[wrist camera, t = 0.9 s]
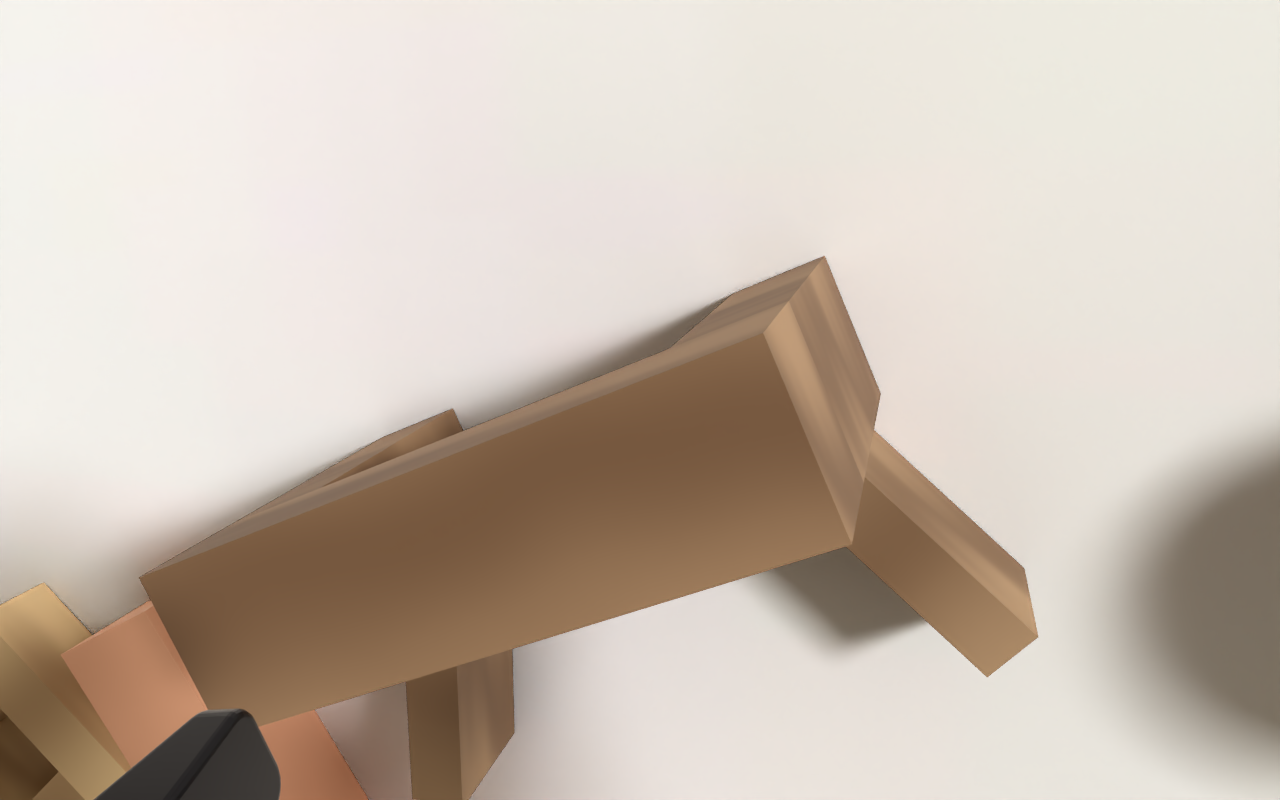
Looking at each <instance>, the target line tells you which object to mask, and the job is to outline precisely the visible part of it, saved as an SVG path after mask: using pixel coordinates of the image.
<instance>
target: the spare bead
mask: <svg viewBox="0 0 1280 800" xmlns="http://www.w3.org/2000/svg"><path fill="white" fill-rule="evenodd" d="M90 636H92V634H91V633H90V632H89V631H88V630H87V629H86V628H85V627H84V626H83V624H82V623H81V622H80V621H79V620H78V619H77V618H76V617H75V616H74V615H73V614H72V613H71V612H70V610H69V609H68V608H67V607H66V606H65V605H64V604H63V603H62V602H61V601H60V600H59V599H58V597H57V596H56V595H55V594H54V593H53V592H52V591H51V590H50V589H49V588H48V587H47V586H46V584H45V583H42V584H40V585H38V586H36V587H34V588H32V589H30V590H28V591H26V592H24V593H22V594H20V595H19V596H17V597H15V598H13V599H11V600H9V601H7V602H5V603H3V604H1V605H0V800H93V799H95V798H96V797H97V796H98V795H99V794H101V793H102V792H103V791H104V790H105V789H107V788H108V787H109V786H110V785H111V784H113V783H114V782H115V781H116V780H117V779H119V778H120V777H121V776H122V775H124V774H125V773H126V772H127V771H128V770H130V769H131V766H130V764H129V763H128V761H127V760H126V758H125V757H124V755H123V753H122V752H121V750H120V749H119V747H118V745H117V744H116V742H115V741H114V739H113V737H112V736H111V734H110V733H109V731H108V729H107V728H106V726H105V725H104V723H103V722H102V720H101V718H100V717H99V715H98V714H97V712H96V710H95V709H94V707H93V706H92V704H91V702H90V701H89V699H88V698H87V696H86V695H85V693H84V691H83V690H82V688H81V687H80V685H79V683H78V682H77V680H76V679H75V677H74V675H73V674H72V672H71V671H70V669H69V667H68V666H67V664H66V663H65V661H64V660H63V658H62V656H61V654H63V653H64V652H66V651H67V650H69V649H71V648H72V647H74V646H76V645H77V644H79V643H80V642H82V641H84V640H85V639H87V638H89V637H90Z"/></svg>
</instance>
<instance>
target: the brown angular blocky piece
mask: <svg viewBox="0 0 1280 800" xmlns="http://www.w3.org/2000/svg"><path fill="white" fill-rule="evenodd" d="M880 395H881V393H880V391H879V388H878V386H877V383H876V381H875V378H874V376H873V374H872V371H871V369H870V366H869V364H868V361H867V359H866V356H865V354H864V351H863V349H862V346H861V344H860V342H859V339H858V337H857V334H856V332H855V329H854V327H853V324H852V322H851V319H850V317H849V315H848V312H847V310H846V307H845V305H844V302H843V300H842V297H841V295H840V292H839V290H838V287H837V285H836V283H835V280H834V278H833V275H832V273H831V270H830V268H829V265H828V263H827V260H826V258H825V256H823V257H821V258H818V259H816V260H814V261H811V262H809V263H806V264H804V265H801V266H799V267H797V268H794V269H792V270H789V271H787V272H784V273H782V274H779V275H777V276H775V277H772V278H770V279H767V280H765V281H762V282H760V283H758V284H755V285H753V286H750V287H748V288H745V289H743V290H740V291H738V292H736V293H733V294H732V295H731V296H729V297H728V298H727V299H726V300H725V301H724V302H723V303H721V304H720V305H719V306H718V307H717V308H716V309H714V310H713V311H712V312H711V313H710V314H709V315H707V316H706V317H705V318H704V319H703V320H702V321H701V322H699V323H698V324H697V325H696V326H695V327H694V328H692V329H691V330H690V331H689V332H688V333H687V334H686V335H684V336H683V337H682V338H681V339H680V340H679V341H677V342H676V343H675V344H674V345H673V346H672V347H670V348H669V349H667V350H665V351H662V352H660V353H657V354H655V355H652V356H650V357H647V358H645V359H642V360H640V361H637V362H635V363H632V364H630V365H627V366H625V367H622V368H620V369H617V370H615V371H612V372H610V373H607V374H605V375H602V376H599V377H597V378H594V379H592V380H589V381H587V382H584V383H582V384H579V385H577V386H574V387H572V388H569V389H567V390H564V391H562V392H559V393H557V394H554V395H552V396H549V397H547V398H544V399H542V400H539V401H537V402H534V403H532V404H529V405H527V406H524V407H522V408H519V409H517V410H514V411H512V412H509V413H507V414H504V415H502V416H499V417H497V418H494V419H492V420H489V421H487V422H484V423H482V424H479V425H477V426H474V427H472V428H469V429H467V430H464V431H463V429H462V427H461V425H460V423H459V421H458V419H457V416H456V414H455V412H454V410H453V409H450V410H448V411H445V412H443V413H441V414H438V415H436V416H433V417H431V418H428V419H426V420H424V421H421V422H419V423H416V424H414V425H411V426H409V427H406V428H404V429H402V430H399V431H397V432H394V433H392V434H389V435H387V436H385V437H382V438H381V439H379V440H377V441H375V442H374V443H372V444H370V445H368V446H367V447H365V448H363V449H361V450H360V451H358V452H356V453H355V454H353V455H351V456H349V457H348V458H346V459H344V460H342V461H341V462H339V463H337V464H335V465H334V466H332V467H330V468H328V469H327V470H325V471H323V472H321V473H320V474H318V475H316V476H315V477H313V478H311V479H309V480H308V481H306V482H304V483H302V484H301V485H299V486H297V487H295V488H294V489H292V490H290V491H288V492H287V493H285V494H283V495H281V496H280V497H278V498H276V499H275V500H273V501H271V502H269V503H268V504H266V505H264V506H262V507H261V508H259V509H257V510H255V511H254V512H252V513H250V514H248V515H247V516H245V517H243V518H242V519H240V520H238V521H236V522H235V523H233V524H231V525H229V526H228V527H226V528H224V529H222V530H221V531H219V532H217V533H215V534H214V535H212V536H210V537H208V538H207V539H205V540H203V541H202V542H200V543H198V544H196V545H195V546H193V547H191V548H189V549H188V550H186V551H184V552H182V553H181V554H179V555H177V556H175V557H174V558H172V559H170V560H169V561H167V562H165V563H163V564H162V565H160V566H158V567H156V568H155V569H153V570H151V571H149V572H148V573H146V574H144V575H142V576H141V577H139V579H140V581H141V583H142V585H143V586H144V588H145V590H146V592H147V594H148V596H149V598H150V600H151V602H152V604H153V606H154V607H155V609H156V611H157V613H158V615H159V617H160V619H161V621H162V623H163V625H164V627H165V628H166V630H167V632H168V634H169V636H170V638H171V640H172V642H173V644H174V646H175V648H176V649H177V651H178V653H179V655H180V657H181V659H182V661H183V663H184V665H185V667H186V669H187V671H188V672H189V674H190V676H191V678H192V680H193V682H194V684H195V686H196V688H197V690H198V692H199V693H200V695H201V697H202V699H203V701H204V703H205V705H206V707H207V709H208V710H216V709H244V710H246V711H247V712H249V713H250V714H251V715H252V716H253V717H254V719H255V721H256V723H257V725H258V727H260V726H263V725H266V724H269V723H273V722H276V721H279V720H282V719H286V718H289V717H292V716H295V715H299V714H302V713H305V712H308V711H312V710H315V709H318V708H322V707H325V706H328V705H331V704H335V703H338V702H341V701H344V700H348V699H351V698H354V697H357V696H361V695H364V694H367V693H370V692H374V691H377V690H380V689H383V688H387V687H390V686H393V685H396V684H400V683H403V682H406V693H407V711H408V729H409V747H410V764H411V782H412V799H416V800H469V798H470V797H471V795H472V794H473V792H474V791H475V790H476V788H477V787H478V785H479V784H480V782H481V781H482V779H483V778H484V776H485V775H486V773H487V772H488V771H489V769H490V768H491V766H492V765H493V763H494V762H495V760H496V759H497V757H498V756H499V754H500V753H501V752H502V750H503V749H504V747H505V746H506V744H507V743H508V741H509V740H510V738H511V737H512V735H513V734H514V698H513V659H512V649H514V648H517V647H520V646H523V645H527V644H530V643H533V642H536V641H540V640H543V639H546V638H549V637H553V636H556V635H559V634H563V633H566V632H569V631H572V630H576V629H579V628H582V627H585V626H589V625H592V624H595V623H598V622H602V621H605V620H608V619H611V618H615V617H618V616H621V615H624V614H628V613H631V612H634V611H637V610H641V609H644V608H647V607H650V606H654V605H657V604H660V603H663V602H667V601H670V600H673V599H676V598H680V597H683V596H686V595H690V594H693V593H696V592H699V591H703V590H706V589H709V588H712V587H716V586H719V585H722V584H725V583H729V582H732V581H735V580H738V579H742V578H745V577H748V576H751V575H755V574H758V573H761V572H764V571H768V570H771V569H774V568H777V567H781V566H784V565H787V564H790V563H794V562H797V561H800V560H804V559H807V558H810V557H813V556H817V555H820V554H823V553H826V552H830V551H833V550H836V549H839V548H843V547H847V548H848V549H849V550H850V551H851V552H852V553H853V554H854V555H855V556H857V557H858V558H859V559H860V560H861V561H862V562H863V563H864V564H865V565H866V566H867V567H868V568H869V569H871V570H872V571H873V572H874V573H875V574H876V575H877V576H878V577H879V578H880V579H881V580H882V581H884V582H885V583H886V584H887V585H888V586H889V587H890V588H891V589H892V590H893V591H894V592H895V593H897V594H898V595H899V596H900V597H901V598H902V599H903V600H904V601H905V602H906V603H907V604H908V605H909V606H911V607H912V608H913V609H914V610H915V611H916V612H917V613H918V614H919V615H920V616H921V617H922V618H924V619H925V620H926V621H927V622H928V623H929V624H930V625H931V626H932V627H933V628H934V629H935V630H937V631H938V632H939V633H940V634H941V635H942V636H943V637H944V638H945V639H946V640H947V641H948V642H950V643H951V644H952V645H953V646H954V647H955V648H956V649H957V650H958V651H959V652H960V653H961V654H962V655H964V656H965V657H966V658H967V659H968V660H969V661H970V662H971V663H972V664H973V665H974V666H975V667H977V668H978V669H979V670H980V671H981V672H982V673H983V674H984V675H985V676H986V677H988V676H990V675H991V674H992V673H993V672H995V671H996V670H997V669H998V668H1000V667H1001V666H1002V665H1003V664H1005V663H1006V662H1007V661H1008V660H1010V659H1011V658H1012V657H1014V656H1015V655H1016V654H1017V653H1019V652H1020V651H1021V650H1022V649H1024V648H1025V647H1026V646H1027V645H1029V644H1030V643H1031V642H1032V641H1034V640H1035V639H1036V638H1038V633H1037V628H1036V623H1035V618H1034V614H1033V609H1032V604H1031V599H1030V594H1029V589H1028V584H1027V579H1026V574H1025V570H1024V568H1023V567H1022V566H1021V565H1020V564H1019V563H1018V562H1017V561H1016V560H1015V559H1014V558H1012V557H1011V556H1010V555H1009V554H1008V553H1007V552H1006V551H1005V550H1004V549H1003V548H1002V547H1001V546H999V545H998V544H997V543H996V542H995V541H994V540H993V539H992V538H991V537H990V536H989V535H987V534H986V533H985V532H984V531H983V530H982V529H981V528H980V527H979V526H978V525H977V524H976V523H974V522H973V521H972V520H971V519H970V518H969V517H968V516H967V515H966V514H965V513H964V512H962V511H961V510H960V509H959V508H958V507H957V506H956V505H955V504H954V503H953V502H952V501H951V500H949V499H948V498H947V497H946V496H945V495H944V494H943V493H942V492H941V491H940V490H939V489H937V488H936V487H935V486H934V485H933V484H932V483H931V482H930V481H929V480H928V479H927V478H926V477H924V476H923V475H922V474H921V473H920V472H919V471H918V470H917V469H916V468H915V467H914V466H912V465H911V464H910V463H909V462H908V461H907V460H906V459H905V458H904V457H903V456H902V455H901V454H899V453H898V452H897V451H896V450H895V449H894V448H893V447H892V446H891V445H890V444H889V443H888V442H886V441H885V440H884V439H883V438H882V437H881V436H880V435H879V434H878V433H877V432H876V431H874V426H875V421H876V416H877V410H878V405H879V400H880Z"/></svg>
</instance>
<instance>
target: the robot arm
mask: <svg viewBox="0 0 1280 800" xmlns="http://www.w3.org/2000/svg"><path fill="white" fill-rule="evenodd" d="M280 790H281V777H280V772H279V768H278V765H277V763H276V761H275V759H274V757H273V755H272V753H271V751H270V749H269V747H268V745H267V743H266V741H265V739H264V737H263V735H262V733H261V731H260V729H259V727H258V725H257V723H256V721H255V719H254V717H253V716H252V715H251V714H250V713H249V712H247V711H246V710H244V709H216V710H206V711H202V712H200V713H198V714H196V715H195V716H194V717H192V718H191V719H190V720H188V721H187V722H186V723H185V724H184V725H182V726H181V727H180V728H179V729H178V730H176V731H175V732H174V733H173V734H172V735H170V736H169V737H168V738H167V739H166V740H164V741H163V742H162V743H161V744H160V745H158V746H157V747H156V748H155V749H154V750H152V751H151V752H150V753H149V754H148V755H146V756H145V757H144V758H143V759H142V760H140V761H139V762H138V763H137V764H136V765H134V766H133V767H132V768H131V769H130V770H128V771H127V772H126V773H125V774H124V775H122V776H121V777H120V778H119V779H117V780H116V781H115V782H114V783H113V784H111V785H110V786H109V787H108V788H107V789H105V790H104V791H103V792H102V793H101V794H99V795H98V796H97V797H96V798H95V799H93V800H279V797H280Z"/></svg>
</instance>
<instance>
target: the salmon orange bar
mask: <svg viewBox="0 0 1280 800" xmlns="http://www.w3.org/2000/svg"><path fill="white" fill-rule="evenodd" d="M61 656H62V658H63V660H64V661H65V663H66V664H67V666H68V667H69V669H70V671H71V672H72V674H73V675H74V677H75V679H76V680H77V682H78V683H79V685H80V687H81V688H82V690H83V691H84V693H85V695H86V696H87V698H88V699H89V701H90V702H91V704H92V706H93V707H94V709H95V710H96V712H97V714H98V715H99V717H100V718H101V720H102V722H103V723H104V725H105V726H106V728H107V729H108V731H109V733H110V734H111V736H112V737H113V739H114V741H115V742H116V744H117V745H118V747H119V749H120V750H121V752H122V753H123V755H124V757H125V758H126V760H127V761H128V763H129V764H130V766H131V768H132V767H133V766H134V765H136V764H137V763H138V762H139V761H140V760H142V759H143V758H144V757H145V756H146V755H148V754H149V753H150V752H151V751H152V750H154V749H155V748H156V747H157V746H158V745H160V744H161V743H162V742H163V741H164V740H166V739H167V738H168V737H169V736H170V735H172V734H173V733H174V732H175V731H176V730H178V729H179V728H180V727H181V726H182V725H184V724H185V723H186V722H187V721H188V720H190V719H191V718H192V717H194V716H195V715H196V714H198V713H200V712H202V711H206V710H208V709H207V707H206V705H205V703H204V701H203V699H202V697H201V695H200V693H199V692H198V690H197V688H196V686H195V684H194V682H193V680H192V678H191V676H190V674H189V672H188V671H187V669H186V667H185V665H184V663H183V661H182V659H181V657H180V655H179V653H178V651H177V649H176V648H175V646H174V644H173V642H172V640H171V638H170V636H169V634H168V632H167V630H166V628H165V627H164V625H163V623H162V621H161V619H160V617H159V615H158V613H157V611H156V609H155V607H154V606H153V604H152V602H151V600H150V601H148V602H146V603H144V604H142V605H141V606H139V607H138V608H136V609H134V610H133V611H131V612H129V613H128V614H126V615H125V616H123V617H121V618H120V619H118V620H116V621H115V622H113V623H111V624H110V625H108V626H107V627H105V628H103V629H102V630H100V631H98V632H97V633H95V634H94V635H92V636H90V637H89V638H87V639H85V640H84V641H82V642H80V643H79V644H77V645H76V646H74V647H72V648H71V649H69V650H67V651H66V652H64V653H63V654H61ZM259 729H260V731H261V733H262V735H263V737H264V739H265V741H266V743H267V745H268V747H269V749H270V751H271V753H272V755H273V757H274V759H275V761H276V763H277V765H278V768H279V772H280V777H281V790H280V797H279V800H369V799H368V798H367V796H366V794H365V793H364V791H363V789H362V788H361V786H360V784H359V783H358V781H357V779H356V778H355V776H354V774H353V773H352V771H351V769H350V768H349V766H348V765H347V763H346V761H345V760H344V758H343V756H342V755H341V753H340V751H339V750H338V748H337V746H336V745H335V743H334V741H333V740H332V738H331V736H330V735H329V733H328V731H327V730H326V728H325V726H324V725H323V723H322V721H321V720H320V718H319V716H318V715H317V713H316V711H315V710H312V711H308V712H305V713H302V714H299V715H295V716H292V717H289V718H286V719H282V720H279V721H276V722H273V723H269V724H266V725H263V726H260V727H259Z"/></svg>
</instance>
